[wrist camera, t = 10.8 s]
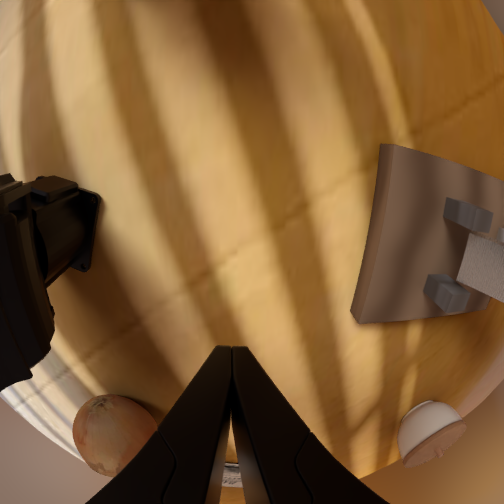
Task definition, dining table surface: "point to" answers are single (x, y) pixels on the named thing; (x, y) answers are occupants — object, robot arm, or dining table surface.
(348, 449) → the dining table surface
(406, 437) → the lidded jar
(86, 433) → the onion
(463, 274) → the lever
